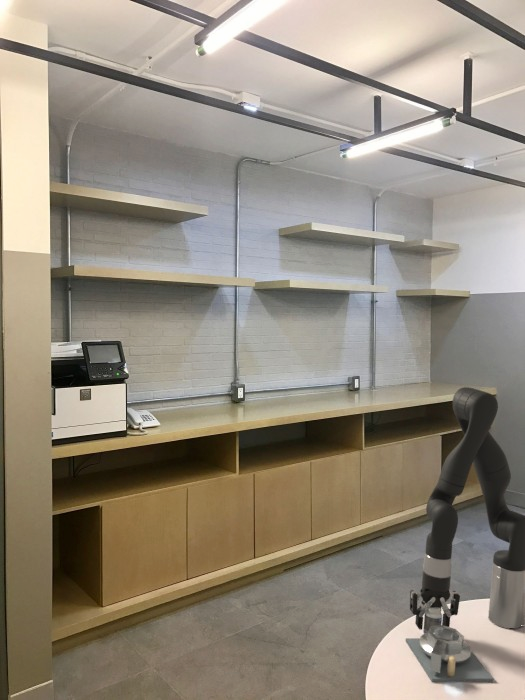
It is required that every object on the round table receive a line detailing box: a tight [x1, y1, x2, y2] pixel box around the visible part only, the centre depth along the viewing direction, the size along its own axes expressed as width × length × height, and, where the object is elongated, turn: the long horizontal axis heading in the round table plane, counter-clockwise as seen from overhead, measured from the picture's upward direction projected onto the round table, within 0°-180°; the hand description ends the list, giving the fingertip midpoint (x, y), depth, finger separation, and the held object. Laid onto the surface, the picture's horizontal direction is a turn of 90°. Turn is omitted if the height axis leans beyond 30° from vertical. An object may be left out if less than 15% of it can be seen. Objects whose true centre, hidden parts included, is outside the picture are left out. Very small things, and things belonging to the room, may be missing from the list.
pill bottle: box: [422, 607, 443, 634], centre depth 163 cm, size 5×5×8 cm
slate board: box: [405, 637, 495, 683], centre depth 150 cm, size 16×18×5 cm
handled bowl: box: [419, 624, 472, 673], centre depth 150 cm, size 18×13×4 cm
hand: (432, 628), depth 163 cm, fingers open, 7 cm apart
